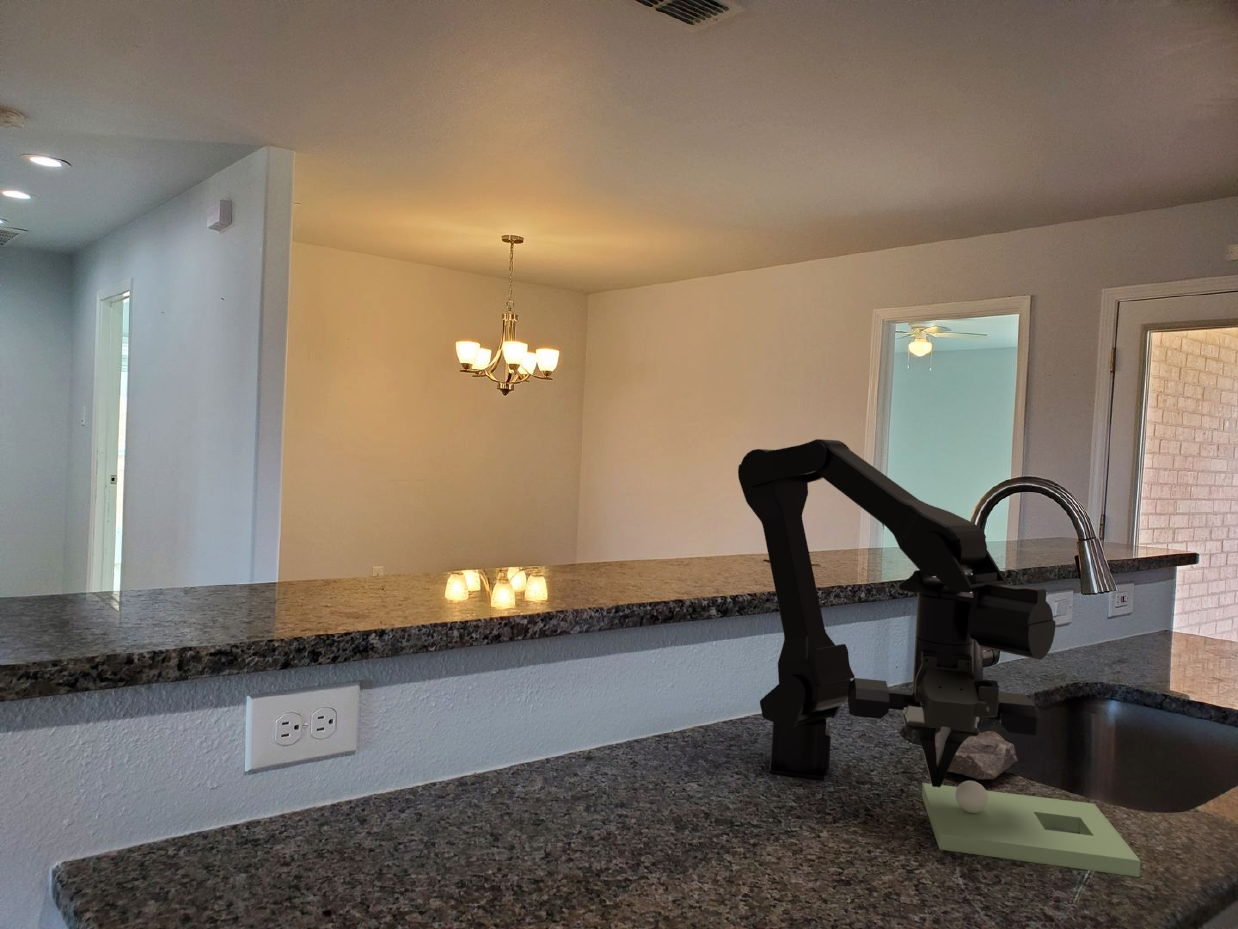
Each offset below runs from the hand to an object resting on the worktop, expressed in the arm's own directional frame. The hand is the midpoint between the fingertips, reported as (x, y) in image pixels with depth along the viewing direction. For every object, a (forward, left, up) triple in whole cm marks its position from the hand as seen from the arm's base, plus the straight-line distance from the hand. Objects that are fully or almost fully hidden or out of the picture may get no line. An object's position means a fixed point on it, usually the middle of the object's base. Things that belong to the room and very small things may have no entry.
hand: (935, 786), depth 95 cm
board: (+9, 0, -4) cm, 9 cm away
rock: (+10, +19, -5) cm, 22 cm away
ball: (+4, 0, -1) cm, 4 cm away
